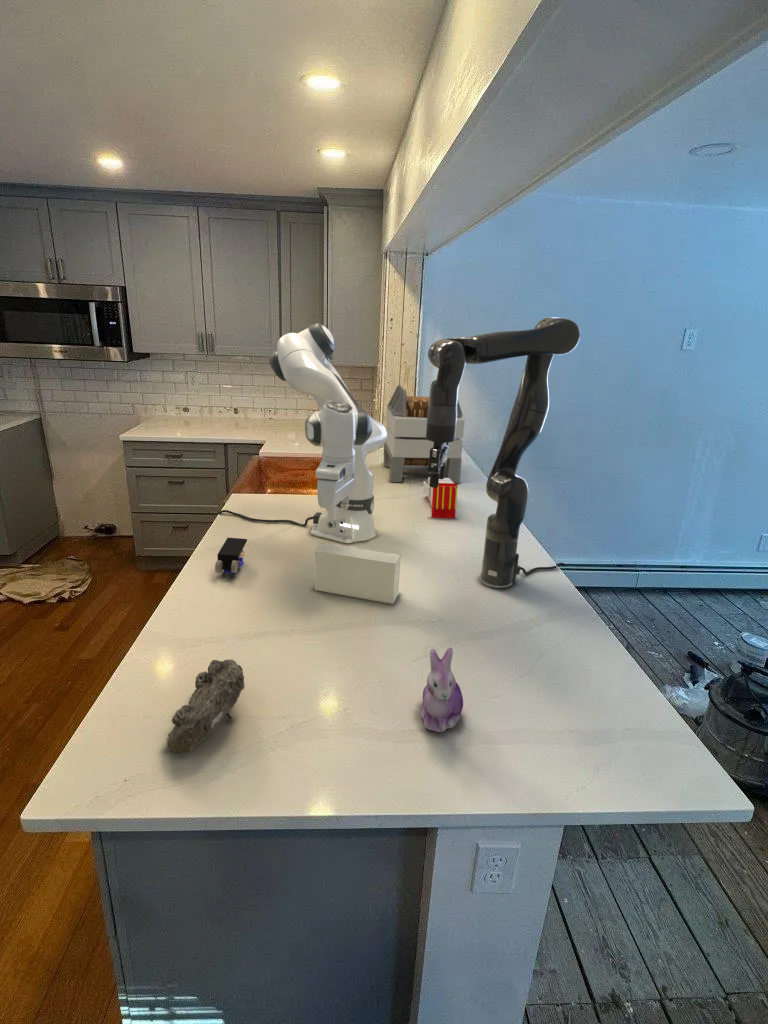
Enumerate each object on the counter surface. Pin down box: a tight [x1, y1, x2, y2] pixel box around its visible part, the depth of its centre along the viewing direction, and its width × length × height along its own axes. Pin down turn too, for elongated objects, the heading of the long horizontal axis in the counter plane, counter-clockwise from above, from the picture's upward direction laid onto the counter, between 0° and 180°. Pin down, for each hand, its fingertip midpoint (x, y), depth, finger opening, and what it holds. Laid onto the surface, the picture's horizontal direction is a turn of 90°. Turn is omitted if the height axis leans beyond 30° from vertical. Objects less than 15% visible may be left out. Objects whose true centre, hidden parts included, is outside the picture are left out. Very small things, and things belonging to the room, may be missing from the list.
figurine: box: [420, 647, 464, 733], centre depth 108 cm, size 9×10×15 cm
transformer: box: [383, 384, 465, 484], centre depth 268 cm, size 34×33×41 cm
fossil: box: [166, 658, 245, 754], centre depth 106 cm, size 22×10×15 cm
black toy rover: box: [214, 537, 248, 578], centre depth 166 cm, size 7×8×15 cm
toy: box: [422, 476, 458, 519], centre depth 227 cm, size 12×13×30 cm
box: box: [314, 542, 402, 605], centre depth 156 cm, size 23×6×12 cm, turn 74°
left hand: (338, 514), depth 154 cm, fingers open, 8 cm apart
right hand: (436, 482), depth 149 cm, fingers open, 8 cm apart
